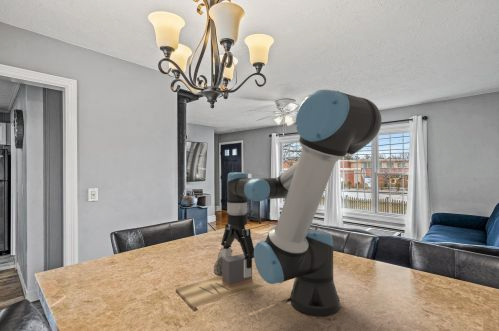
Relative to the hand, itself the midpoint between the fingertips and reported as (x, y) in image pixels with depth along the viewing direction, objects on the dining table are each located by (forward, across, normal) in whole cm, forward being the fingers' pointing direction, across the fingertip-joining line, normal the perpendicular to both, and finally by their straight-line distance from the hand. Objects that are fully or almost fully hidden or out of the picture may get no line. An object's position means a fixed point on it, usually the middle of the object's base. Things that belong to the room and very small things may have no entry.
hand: (237, 270), depth 97 cm
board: (+5, 0, +8) cm, 9 cm away
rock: (+5, +16, -2) cm, 17 cm away
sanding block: (+4, 0, 0) cm, 4 cm away
